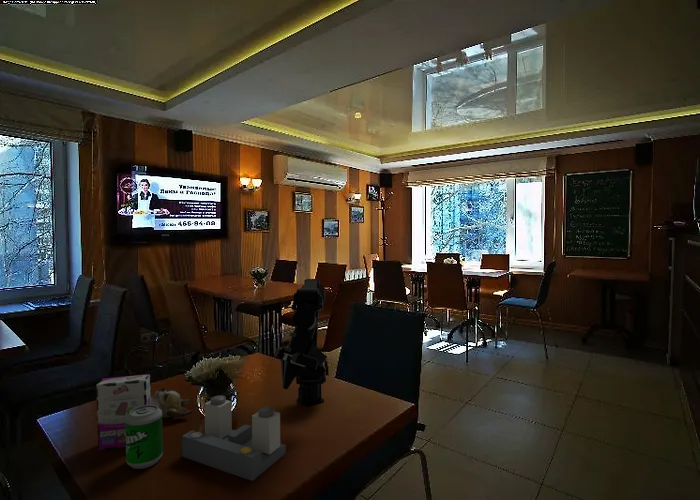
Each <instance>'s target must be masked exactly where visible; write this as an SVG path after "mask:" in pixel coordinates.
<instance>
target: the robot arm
mask: <svg viewBox="0 0 700 500" xmlns="http://www.w3.org/2000/svg"><path fill="white" fill-rule="evenodd" d="M303 283H304V284H303V285H302V286H301V287H300V288H297V289H296V291H295V292H294V293H293V300H292V306H291V311H293V312H294V313H293V316H292V322H293V324H294V329H293V332H290V333H289V337H291V338H290V341H289V343H288V346H285V347H282V346H279V347H277V348H276V349H275V352H274V354H273V355H274V356H275V357H277V358H278V357H280V358H279V361H280V369H281V370H280V371H281V381H282V383H281V384H282V389H284V390H288V389H289V388H290V386H291V384H292V382H294V380H295V381H296V385H298V389H297V390H298V393H297V395H298V396H297V398H296V401H297V402H299V403H301V404H302V405H303V406H305V407H311V406H315V405H317V404H320V403H323V402H325V399H324V398H322V385H324V383H326V381H327V376H326V375H327V373H326V372H327V371H326V370H327V369H326V367H325V366H324V363H325V361H326V360H327V358H328V356H327V355H326V354H325V353H324V352H323V351H321V350H320V349H319V348H318V339H319V338H318V334H319V315H320V314H321V312H322V311H323V310H324V303H326V288H325V286H324V285H323V284H321V283H320V279H318V278H306V279H304V282H303Z"/></svg>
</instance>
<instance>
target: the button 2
mask: <svg viewBox="0 0 700 500" xmlns="http://www.w3.org/2000/svg"><path fill="white" fill-rule="evenodd" d="M251 426H252V448H253V449H256V450H259V451H261V452H263V453H266V454H269V455H270V454H271V453H272V452H274V451H275V450H276V449H277V448H279V447H280V443H281V413H280V412H278V411H275V409H274V407H271V406H263V407H260V408H259V409H258V410H257V412H255V413H254V414H253V415H251Z"/></svg>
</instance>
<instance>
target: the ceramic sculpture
mask: <svg viewBox="0 0 700 500" xmlns="http://www.w3.org/2000/svg"><path fill="white" fill-rule="evenodd" d="M192 400H193V398H188V399H183V398H182V397H181V395H180V393H179V392H177V391H175V390H173V389H172V390H166V388H165V387H162V388H159V389H158V390H156V391H155V392H154V394H153V395H151V405H155V406H157V407H158V408H159V409H161V410H162V419H163V418H164V419H165V418H166V419H167V418H168V419H169V418H174V419H179V418H183V417H186V416H189V415H190V414H192V413H193V412H194V411H193V410H189V409H187V408H186V407H184V406H186V405H188V403H190V402H191V401H192Z"/></svg>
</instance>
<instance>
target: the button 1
mask: <svg viewBox="0 0 700 500" xmlns="http://www.w3.org/2000/svg"><path fill="white" fill-rule="evenodd" d="M232 410H233V409H232V400H228V399H226V396H225V395H215V396H213V397H211V398H210V400H209V401H206V402H205V403H204V434H206V435H210V436H213V437H216V438H220V439H222V438H224V437H225V436H227V435H228V434H230V433H231V432H232V430H233V429H232V427H233V422H232V420H233V419H232V415H233V413H232Z"/></svg>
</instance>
